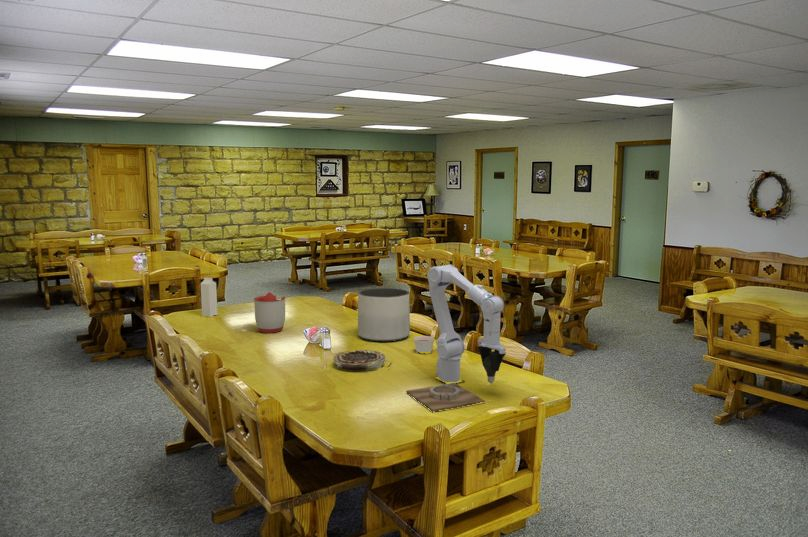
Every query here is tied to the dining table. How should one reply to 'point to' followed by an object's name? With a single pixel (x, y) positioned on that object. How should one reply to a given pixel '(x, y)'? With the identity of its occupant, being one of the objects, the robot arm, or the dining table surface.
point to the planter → (383, 314)
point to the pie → (359, 360)
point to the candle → (423, 343)
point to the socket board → (436, 405)
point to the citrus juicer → (269, 313)
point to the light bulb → (489, 369)
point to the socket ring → (444, 397)
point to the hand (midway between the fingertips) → (490, 368)
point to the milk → (208, 297)
